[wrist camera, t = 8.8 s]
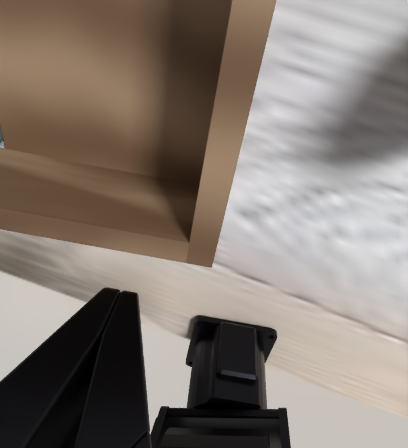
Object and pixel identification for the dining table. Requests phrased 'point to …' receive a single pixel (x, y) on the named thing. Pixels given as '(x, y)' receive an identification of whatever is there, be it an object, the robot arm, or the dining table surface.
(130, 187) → the crate
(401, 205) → the dining table surface
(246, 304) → the dining table surface
